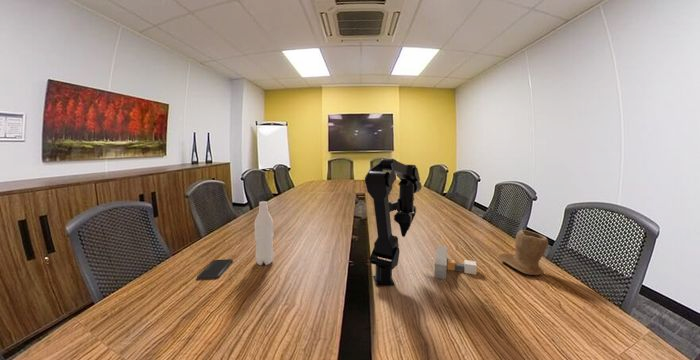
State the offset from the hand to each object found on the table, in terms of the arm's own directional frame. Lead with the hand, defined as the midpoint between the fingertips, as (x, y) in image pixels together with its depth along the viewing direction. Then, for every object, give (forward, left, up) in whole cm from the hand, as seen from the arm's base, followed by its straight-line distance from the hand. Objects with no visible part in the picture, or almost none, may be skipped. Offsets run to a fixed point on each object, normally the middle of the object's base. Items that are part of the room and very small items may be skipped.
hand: (405, 233), depth 106 cm
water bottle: (+2, +57, -12) cm, 58 cm away
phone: (-3, +74, -13) cm, 75 cm away
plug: (-9, -20, -12) cm, 25 cm away
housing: (-6, -13, -12) cm, 19 cm away
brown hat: (-9, -45, -12) cm, 47 cm away
